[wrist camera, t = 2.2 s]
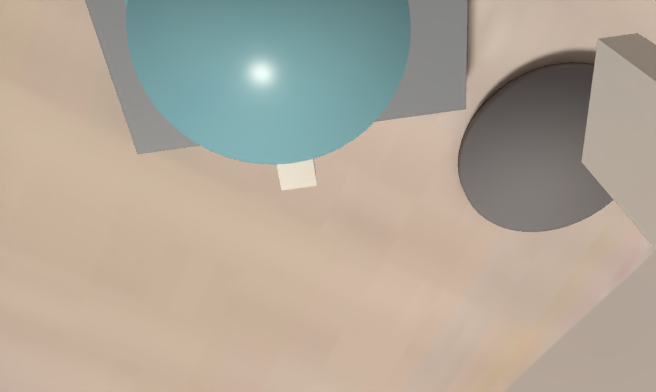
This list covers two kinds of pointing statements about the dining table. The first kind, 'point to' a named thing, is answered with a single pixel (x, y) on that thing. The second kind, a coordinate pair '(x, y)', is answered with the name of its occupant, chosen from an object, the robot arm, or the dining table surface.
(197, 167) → the dining table surface
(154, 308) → the dining table surface
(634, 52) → the robot arm
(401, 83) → the stand
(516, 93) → the mat
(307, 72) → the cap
